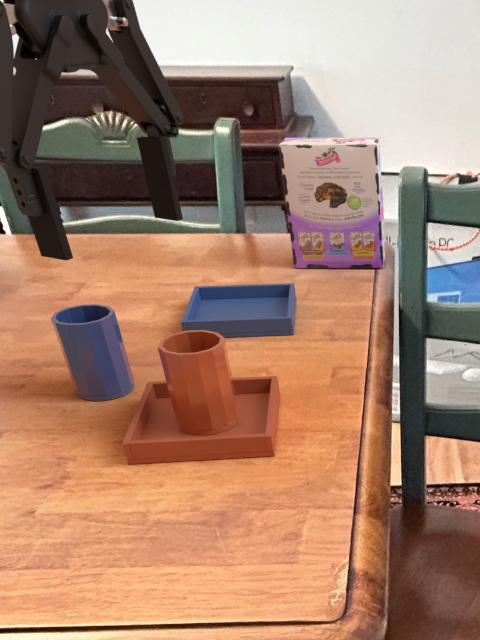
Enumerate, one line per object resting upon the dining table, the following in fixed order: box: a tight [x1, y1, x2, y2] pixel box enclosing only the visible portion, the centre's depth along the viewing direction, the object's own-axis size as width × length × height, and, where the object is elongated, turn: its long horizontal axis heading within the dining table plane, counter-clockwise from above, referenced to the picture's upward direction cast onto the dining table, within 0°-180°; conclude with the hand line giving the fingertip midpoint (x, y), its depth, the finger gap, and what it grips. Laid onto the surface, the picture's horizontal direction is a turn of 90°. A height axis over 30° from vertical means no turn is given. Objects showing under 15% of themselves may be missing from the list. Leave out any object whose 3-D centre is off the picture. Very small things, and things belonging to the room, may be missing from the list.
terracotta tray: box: [121, 375, 281, 465], centre depth 72 cm, size 13×13×2 cm
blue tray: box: [180, 282, 297, 339], centre depth 95 cm, size 13×13×2 cm
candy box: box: [278, 137, 386, 269], centre depth 108 cm, size 14×6×16 cm, turn 90°
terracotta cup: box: [157, 330, 239, 435], centre depth 70 cm, size 6×6×8 cm
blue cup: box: [50, 303, 135, 402], centre depth 76 cm, size 6×6×8 cm
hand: (117, 237), depth 65 cm, fingers open, 13 cm apart
